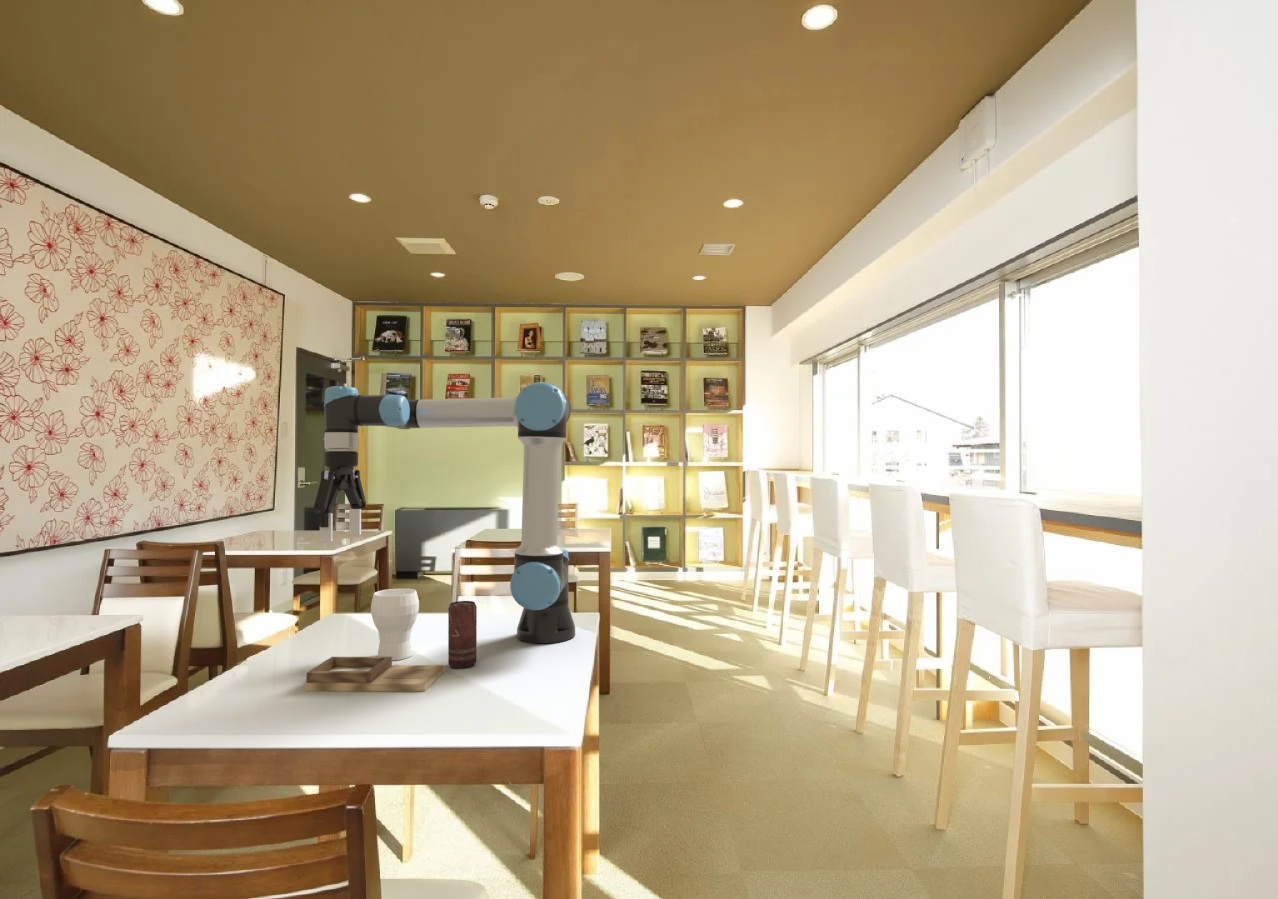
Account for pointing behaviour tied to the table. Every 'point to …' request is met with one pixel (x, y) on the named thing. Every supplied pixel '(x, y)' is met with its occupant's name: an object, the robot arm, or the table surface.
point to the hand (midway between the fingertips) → (341, 538)
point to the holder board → (370, 675)
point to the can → (462, 634)
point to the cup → (395, 621)
